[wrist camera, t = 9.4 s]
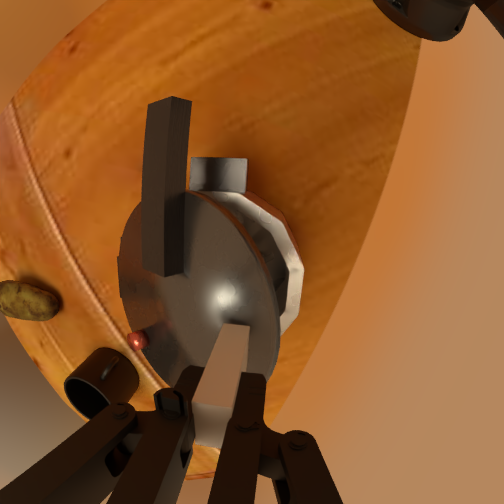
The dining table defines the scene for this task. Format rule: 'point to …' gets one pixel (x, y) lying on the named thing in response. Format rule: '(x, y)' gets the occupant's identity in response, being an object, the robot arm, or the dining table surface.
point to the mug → (101, 382)
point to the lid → (189, 263)
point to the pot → (255, 226)
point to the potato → (27, 301)
